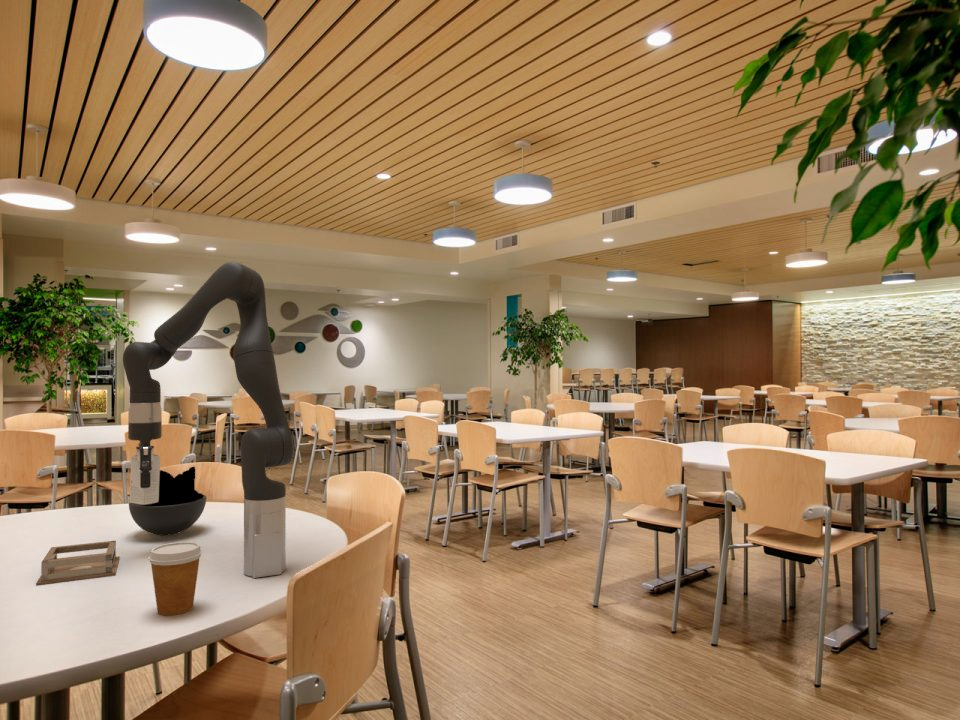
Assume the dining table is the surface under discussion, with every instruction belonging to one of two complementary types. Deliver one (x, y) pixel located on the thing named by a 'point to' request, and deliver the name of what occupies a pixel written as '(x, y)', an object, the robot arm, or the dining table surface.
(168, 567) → the disposable coffee cup
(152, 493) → the skincare box
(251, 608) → the dining table surface
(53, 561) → the shallow wooden tray
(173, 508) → the bowl of black rocks
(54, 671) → the dining table surface
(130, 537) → the dining table surface
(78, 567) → the walnut board
